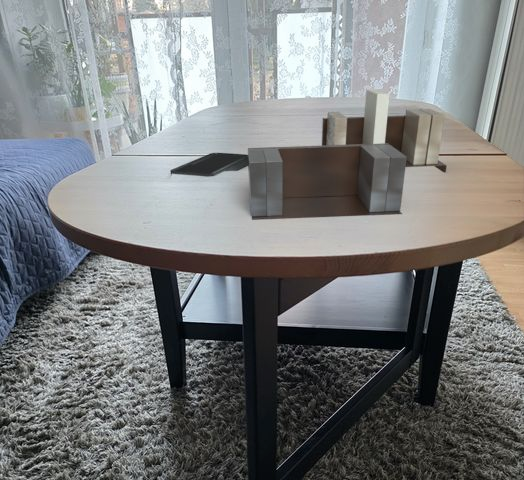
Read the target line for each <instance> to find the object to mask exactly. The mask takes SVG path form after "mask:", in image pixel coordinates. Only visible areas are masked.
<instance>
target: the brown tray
mask: <svg viewBox="0 0 524 480" xmlns="http://www.w3.org/2000/svg"><path fill="white" fill-rule="evenodd" d="M326 116H327V117H323V118H322V123H321V124H322V127H321V128H322V129H321V146H323V145H352V144H362V141H363V128H364V116H345V115H344V114H342V113H341V112H340V111H327V115H326ZM445 117H446V115H445V114H444V113H442V112H439V111H436V110H434V109H432V108H419V109H417V108H410V109H409V108H408V109H405V115H404V114H403V115H388V116H387V126H386V136H385V143H388V144H389V145H391V146H392V147H394V148H395V149H396V150H398V151H399V152H401V153H402V154H404V155H405V156H406V157H407V159H406V167H405V168H418V167H434V168H436V169H438V170H439V171H441V172H442V173H446V172H447V164H446V163H443V162H442V161H440V160H439V156H440V151H441V150H440V149H441V143H442V136H443V130H444V124H445Z"/></svg>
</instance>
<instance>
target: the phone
mask: <svg viewBox="0 0 524 480" xmlns="http://www.w3.org/2000/svg"><path fill="white" fill-rule="evenodd" d="M246 166H248V153H247V154H245V153H229V152H211V153H208V154H206V155H203V156H201V157H199V158H195V159H194V160H191V161H189V162H187V163H183V164H182V165H179V166H177V167H174V168H172V169H170V171H169V172H170V176H172V175H180V176H181V175H183V176H184V175H185V176H195V177H207V178H209V177H215V176H218V175H221V174H222V173H224V172H237V171H239V170H240V169H242V168H244V167H246Z"/></svg>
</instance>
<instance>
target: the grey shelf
mask: <svg viewBox="0 0 524 480" xmlns="http://www.w3.org/2000/svg"><path fill="white" fill-rule="evenodd" d="M247 155H248V165H247V167H248V168H247V169H248V192H249V193H248V196H249V206H250V216H251V220H252V221H260V220H262V221H263V220H288V219H313V218H314V219H315V218H338V217H339V218H340V217H342V218H343V217H364V216H389V215H390V216H391V215H394V216H395V215H403V213H402V212H401V208H402V200H403V199H402V198H403V191H404V183H405V174H406V168H407V167H406V159H407V157H406V156H405V155H404V154H402V153H401V152H399V151H398V150H396V149H395V148H394V147H392V146H391V145H389V144H388V143H382V144H352V145H323V146H322V145H298V146H269V147H268V146H267V147H266V146H265V147H264V146H263V147H248V148H247Z"/></svg>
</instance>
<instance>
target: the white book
mask: <svg viewBox="0 0 524 480" xmlns="http://www.w3.org/2000/svg"><path fill="white" fill-rule="evenodd" d="M390 94H391V93H388V92H386V91H384V90H380V89H378V88H375V89H373V88H371V89H366V90H365V104H364V115H363V117H364V128H363V141H362V144H382V143H385V136H386V126H387V116H389V105H390V96H391V95H390Z"/></svg>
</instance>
